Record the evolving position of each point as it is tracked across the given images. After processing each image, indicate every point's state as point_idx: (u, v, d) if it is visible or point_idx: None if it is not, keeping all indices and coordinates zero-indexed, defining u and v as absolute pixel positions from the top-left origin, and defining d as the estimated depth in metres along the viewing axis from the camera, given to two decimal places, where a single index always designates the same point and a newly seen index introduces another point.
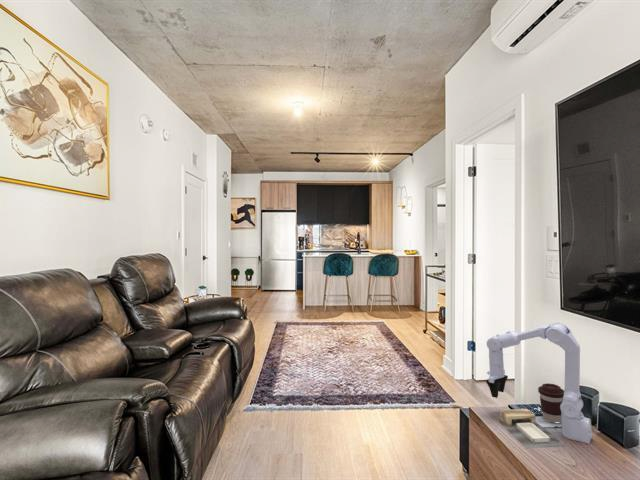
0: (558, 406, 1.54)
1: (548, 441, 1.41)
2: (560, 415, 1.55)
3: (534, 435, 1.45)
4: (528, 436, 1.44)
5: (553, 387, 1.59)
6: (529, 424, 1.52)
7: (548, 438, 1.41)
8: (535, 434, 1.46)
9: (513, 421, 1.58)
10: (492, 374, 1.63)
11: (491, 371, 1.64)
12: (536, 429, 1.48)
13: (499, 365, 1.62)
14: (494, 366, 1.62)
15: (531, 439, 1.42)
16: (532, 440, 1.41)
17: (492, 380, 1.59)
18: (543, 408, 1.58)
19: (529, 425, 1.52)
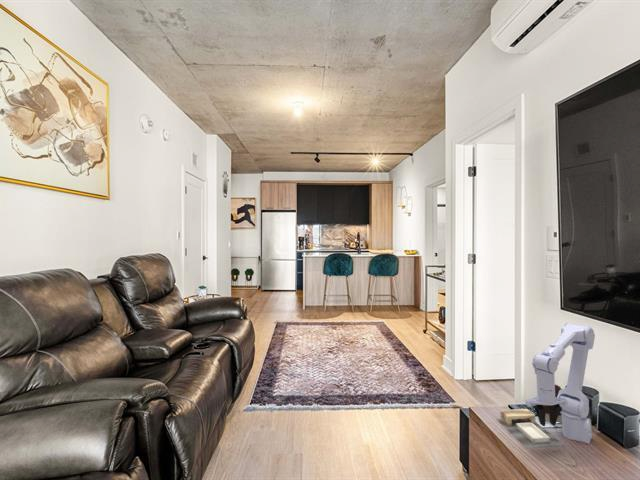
0: None
1: (548, 441, 1.41)
2: (560, 415, 1.55)
3: (534, 435, 1.45)
4: (528, 436, 1.44)
5: None
6: (529, 424, 1.52)
7: (548, 438, 1.41)
8: (535, 434, 1.46)
9: (513, 421, 1.58)
10: (537, 398, 1.38)
11: (537, 395, 1.38)
12: (536, 429, 1.48)
13: (543, 389, 1.35)
14: (538, 389, 1.37)
15: (531, 439, 1.42)
16: (532, 440, 1.41)
17: (528, 403, 1.36)
18: None
19: (529, 425, 1.52)
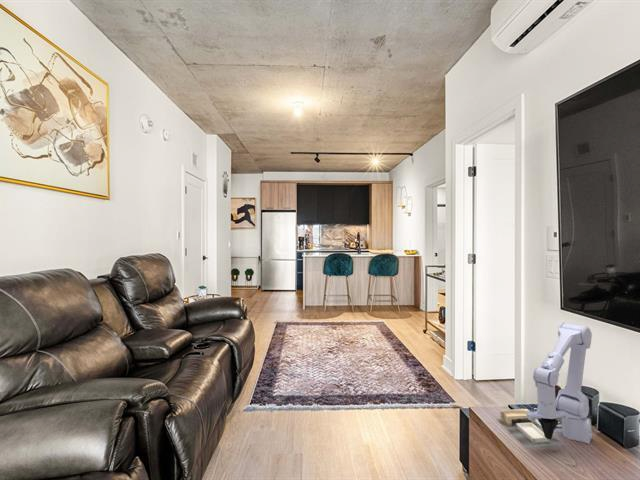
0: None
1: (548, 441, 1.41)
2: None
3: (534, 435, 1.45)
4: (528, 436, 1.44)
5: None
6: (529, 424, 1.52)
7: None
8: (535, 434, 1.46)
9: (513, 421, 1.58)
10: (538, 411, 1.38)
11: (538, 408, 1.38)
12: (536, 429, 1.48)
13: (544, 403, 1.35)
14: (539, 402, 1.37)
15: (531, 439, 1.42)
16: (532, 440, 1.41)
17: (528, 416, 1.36)
18: None
19: (529, 425, 1.52)
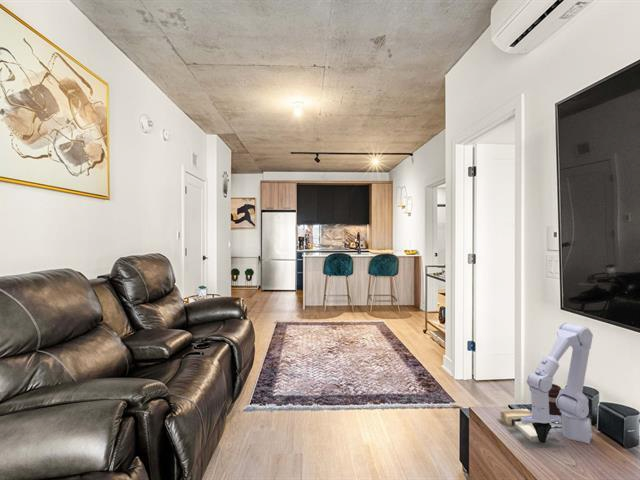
0: None
1: (546, 439, 1.42)
2: (560, 415, 1.55)
3: (532, 433, 1.47)
4: (526, 434, 1.45)
5: (553, 387, 1.59)
6: None
7: None
8: (533, 432, 1.47)
9: (513, 421, 1.58)
10: (532, 416, 1.42)
11: (532, 412, 1.42)
12: None
13: (538, 408, 1.39)
14: (533, 407, 1.41)
15: (529, 437, 1.43)
16: (530, 438, 1.43)
17: (523, 421, 1.40)
18: None
19: None
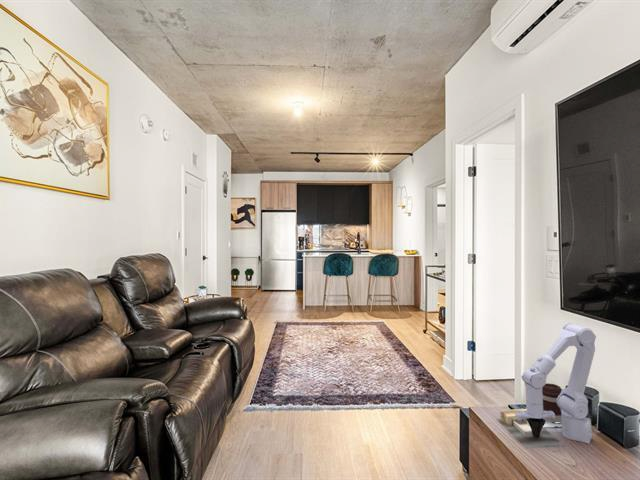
0: (558, 406, 1.54)
1: (540, 434, 1.46)
2: (560, 415, 1.55)
3: (526, 429, 1.50)
4: (520, 430, 1.49)
5: (553, 387, 1.59)
6: None
7: None
8: (527, 428, 1.51)
9: None
10: (526, 411, 1.45)
11: None
12: (528, 423, 1.53)
13: (532, 403, 1.42)
14: (527, 403, 1.44)
15: (523, 432, 1.47)
16: (524, 433, 1.46)
17: (517, 416, 1.44)
18: (543, 408, 1.58)
19: (522, 419, 1.57)
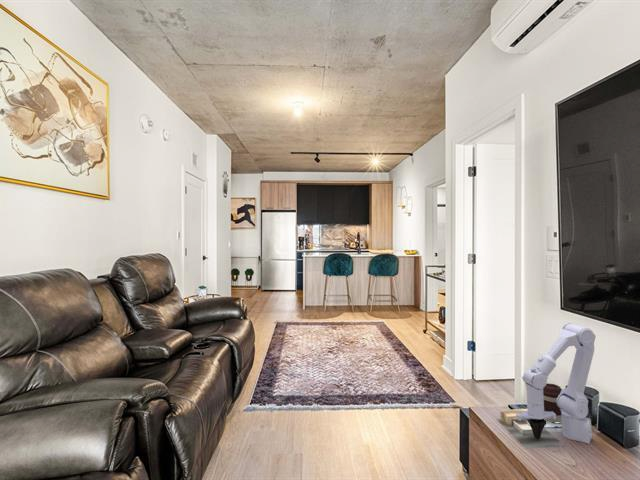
0: None
1: None
2: (560, 415, 1.55)
3: (524, 427, 1.52)
4: (518, 428, 1.50)
5: (553, 387, 1.59)
6: None
7: None
8: (525, 426, 1.53)
9: None
10: (527, 412, 1.45)
11: (527, 409, 1.45)
12: (526, 421, 1.55)
13: (533, 404, 1.42)
14: (528, 404, 1.44)
15: (521, 430, 1.48)
16: (522, 431, 1.48)
17: (518, 417, 1.43)
18: None
19: None
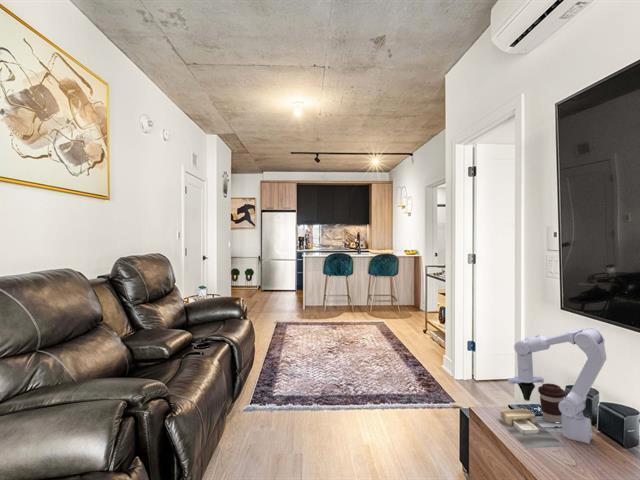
0: None
1: (537, 432, 1.47)
2: (560, 415, 1.55)
3: (524, 427, 1.52)
4: (518, 428, 1.50)
5: (553, 387, 1.59)
6: None
7: (537, 429, 1.47)
8: (525, 426, 1.53)
9: None
10: (518, 377, 1.60)
11: (518, 374, 1.60)
12: (526, 421, 1.55)
13: (523, 369, 1.57)
14: (519, 369, 1.59)
15: (521, 430, 1.48)
16: (522, 431, 1.48)
17: (509, 381, 1.59)
18: (543, 408, 1.58)
19: None
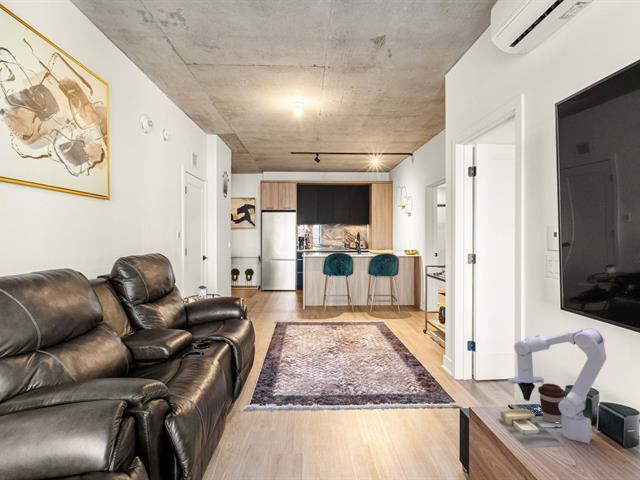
0: None
1: (537, 432, 1.47)
2: (560, 415, 1.55)
3: (524, 427, 1.52)
4: (518, 428, 1.50)
5: (553, 387, 1.59)
6: None
7: (537, 429, 1.47)
8: (525, 426, 1.53)
9: None
10: (518, 377, 1.60)
11: (518, 374, 1.60)
12: (526, 421, 1.55)
13: (523, 369, 1.57)
14: (519, 369, 1.59)
15: (521, 430, 1.48)
16: (522, 431, 1.48)
17: (509, 381, 1.59)
18: (543, 408, 1.58)
19: None
